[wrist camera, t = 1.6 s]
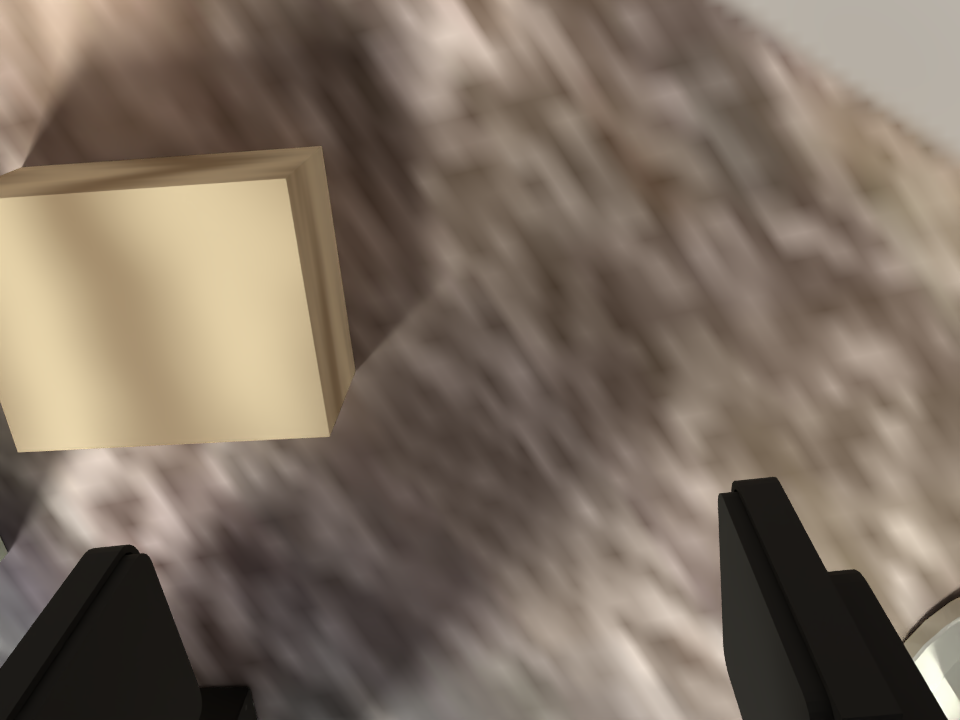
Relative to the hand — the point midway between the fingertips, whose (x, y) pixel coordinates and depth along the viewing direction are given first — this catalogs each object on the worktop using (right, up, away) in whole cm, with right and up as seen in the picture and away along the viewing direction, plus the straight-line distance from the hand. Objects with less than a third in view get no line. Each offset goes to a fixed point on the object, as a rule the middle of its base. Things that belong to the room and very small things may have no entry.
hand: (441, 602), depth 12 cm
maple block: (-9, +6, +18) cm, 21 cm away
